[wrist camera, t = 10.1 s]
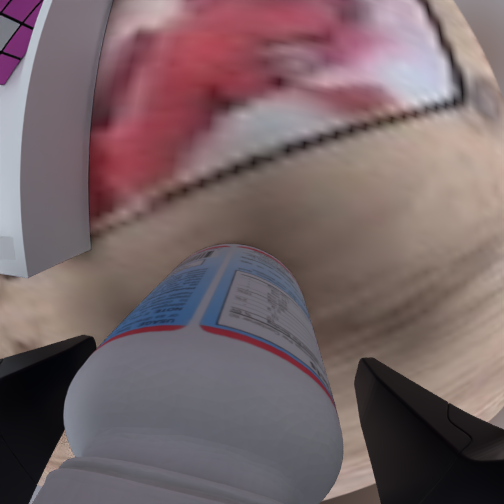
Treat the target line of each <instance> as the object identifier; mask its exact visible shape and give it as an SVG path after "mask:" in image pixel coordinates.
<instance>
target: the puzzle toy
mask: <svg viewBox="0 0 504 504" xmlns="http://www.w3.org/2000/svg"><path fill="white" fill-rule="evenodd" d="M43 1H44V0H0V85H4V84H5V83H6V81H7V80H8V78H9V77H10V75H11V73H12V72H13V70H14V69H15V68H16V66H17V65H18V63H19V62H20V60H21V59H22V58H23V56H24V55H25V53H26V52H27V50H28V46H29V42H30V39H31V36H32V32H33V29H34V26H35V23H36V20H37V17H38V14H39V12H40V9H41V6H42V4H43Z"/></svg>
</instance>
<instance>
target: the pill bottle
mask: <svg viewBox="0 0 504 504" xmlns="http://www.w3.org/2000/svg"><path fill="white" fill-rule="evenodd" d="M64 426H65V432H66V436H67V439H68V442H69V444H70V447H71V449H72V451H73V453H74V455H75V457H76V458H71V459H68V460H66V461H65V462H63V463H62V465H61V466H60V467H59V469H57V470H54V471H51V472H50V473H49V474H48V475H47V477H46V480H45V483H44V485H43V487H42V488H41V490H40V492H39V493H38V495H37V497H36V498H35V500H34V502H33V503H32V504H319V503H320V502H321V501H322V500H323V499H324V498H325V497H326V495H327V494H328V493H329V491H330V490H331V488H332V487H333V485H334V484H335V481H336V479H337V477H338V474H339V472H340V469H341V465H342V460H343V438H342V432H341V427H340V422H339V417H338V414H337V410H336V405H335V402H334V399H333V395H332V391H331V388H330V385H329V381H328V378H327V374H326V371H325V367H324V364H323V360H322V357H321V354H320V350H319V347H318V343H317V340H316V337H315V333H314V330H313V327H312V323H311V320H310V317H309V313H308V311H307V307H306V304H305V301H304V297H303V295H302V292H301V290H300V287H299V285H298V283H297V281H296V279H295V278H294V276H293V275H292V274H291V272H290V271H289V270H288V269H287V268H286V266H285V265H284V264H282V263H281V262H280V261H279V260H278V259H276V258H275V257H273V256H272V255H270V254H268V253H266V252H264V251H262V250H260V249H257V248H254V247H251V246H246V245H240V244H221V245H215V246H211V247H208V248H205V249H202V250H200V251H198V252H196V253H194V254H192V255H191V256H189V257H188V258H187V259H185V260H184V261H183V262H182V263H181V264H179V265H178V266H177V267H176V268H175V269H174V270H173V271H172V272H171V273H170V274H169V275H168V276H167V277H166V278H165V279H164V280H163V281H162V282H161V283H160V284H159V285H158V286H157V287H156V288H155V289H154V290H153V291H152V292H151V293H150V294H149V295H148V296H147V297H146V298H145V299H144V300H143V301H142V302H141V303H140V304H139V305H138V306H137V307H136V308H135V309H134V310H133V311H132V312H131V313H130V314H129V315H128V316H127V317H126V318H125V319H124V320H123V322H122V323H121V324H120V325H119V326H118V327H117V328H116V329H115V330H114V331H113V332H112V333H111V334H110V335H109V336H108V337H107V338H106V339H105V340H104V342H103V343H102V344H101V345H100V346H99V347H98V348H97V349H96V350H95V351H94V352H93V354H92V355H91V356H90V357H89V358H88V359H87V361H86V362H85V363H84V365H83V366H82V367H81V368H80V369H79V371H78V372H77V374H76V375H75V377H74V378H73V380H72V382H71V384H70V386H69V389H68V392H67V395H66V398H65V404H64Z"/></svg>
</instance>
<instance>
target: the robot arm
mask: <svg viewBox="0 0 504 504" xmlns="http://www.w3.org/2000/svg"><path fill="white" fill-rule="evenodd" d="M96 349H97V347H96V343H95V339H94V338H93V337H92V336H87V335H80V336H77V337H74V338H71V339H67V340H64V341H61V342H57V343H54V344H51V345H47V346H44V347H41V348H37V349H34V350H30V351H27V352H24V353H20V354H17V355H13V356H10V357H6V358H4V359H0V504H29V502H30V500H31V498H32V495H33V493H34V491H35V489H36V486H37V484H38V482H39V480H40V478H41V476H42V473H43V471H44V469H45V467H46V465H47V463H48V461H49V459H50V457H51V455H52V453H53V451H54V449H55V447H56V445H57V444H58V442H59V440H60V438H61V436H62V434H63V432H64V430H65V426H64V404H65V398H66V395H67V392H68V389H69V386H70V384H71V382H72V380H73V378H74V377H75V375H76V374H77V372H78V371H79V369H80V368H81V367H82V366H83V365H84V363H85V362H86V361H87V359H88V358H89V357H90V356H91V355H92V354H93V352H94V351H95V350H96ZM354 385H355V392H356V398H357V404H358V411H359V418H360V423H361V427H362V431H363V435H364V439H365V442H366V446H367V450H368V453H369V457H370V461H371V465H372V469H373V473H374V477H375V481H376V485H377V488H378V493H379V497H380V502H381V504H504V429H502V428H499V427H497V426H494V425H492V424H490V423H488V422H485V421H483V420H481V419H479V418H477V417H475V416H473V415H470V414H469V413H467V412H465V411H463V410H461V409H459V408H457V407H456V406H454V405H452V404H451V403H449V404H448V402H447V401H445V400H444V399H442V398H440V397H438V396H437V395H435V394H433V393H432V392H430V391H428V390H426V389H425V388H423V387H421V386H420V385H418V384H416V383H415V382H413V381H411V380H409V379H408V378H406V377H404V376H403V375H401V374H399V373H398V372H396V371H394V370H393V369H391V368H389V367H388V366H386V365H385V364H383V363H381V362H380V361H378V360H376V359H375V358H372V357H371V358H362V359H360V361H359V364H358V368H357V372H356V376H355V381H354Z"/></svg>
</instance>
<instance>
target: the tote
mask: <svg viewBox="0 0 504 504" xmlns="http://www.w3.org/2000/svg"><path fill="white" fill-rule="evenodd" d="M112 2H113V0H44V1H43V4H42V6H41V9H40V12H39V14H38V17H37V20H36V23H35V26H34V29H33V32H32V36H31V39H30V42H29V46H28V50H27V52H26V53H25V55H24V56H23V58H22V59H21V60H20V62H19V63H18V65H17V66H16V68H15V69H14V70H13V72H12V73H11V75H10V77H9V78H8V80H7V81H6V83H5V84H4V85H0V274H6V275H12V276H18V277H24V278H29V277H32V276H34V275H36V274H38V273H40V272H42V271H44V270H46V269H48V268H51V267H53V266H55V265H57V264H59V263H62V262H64V261H66V260H68V259H70V258H73V257H75V256H77V255H79V254H82V253H84V252H86V251H89V250H91V242H90V227H89V202H88V166H89V142H90V127H91V116H92V106H93V97H94V89H95V82H96V76H97V69H98V63H99V58H100V53H101V48H102V43H103V38H104V34H105V29H106V25H107V21H108V17H109V13H110V10H111V6H112Z"/></svg>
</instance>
